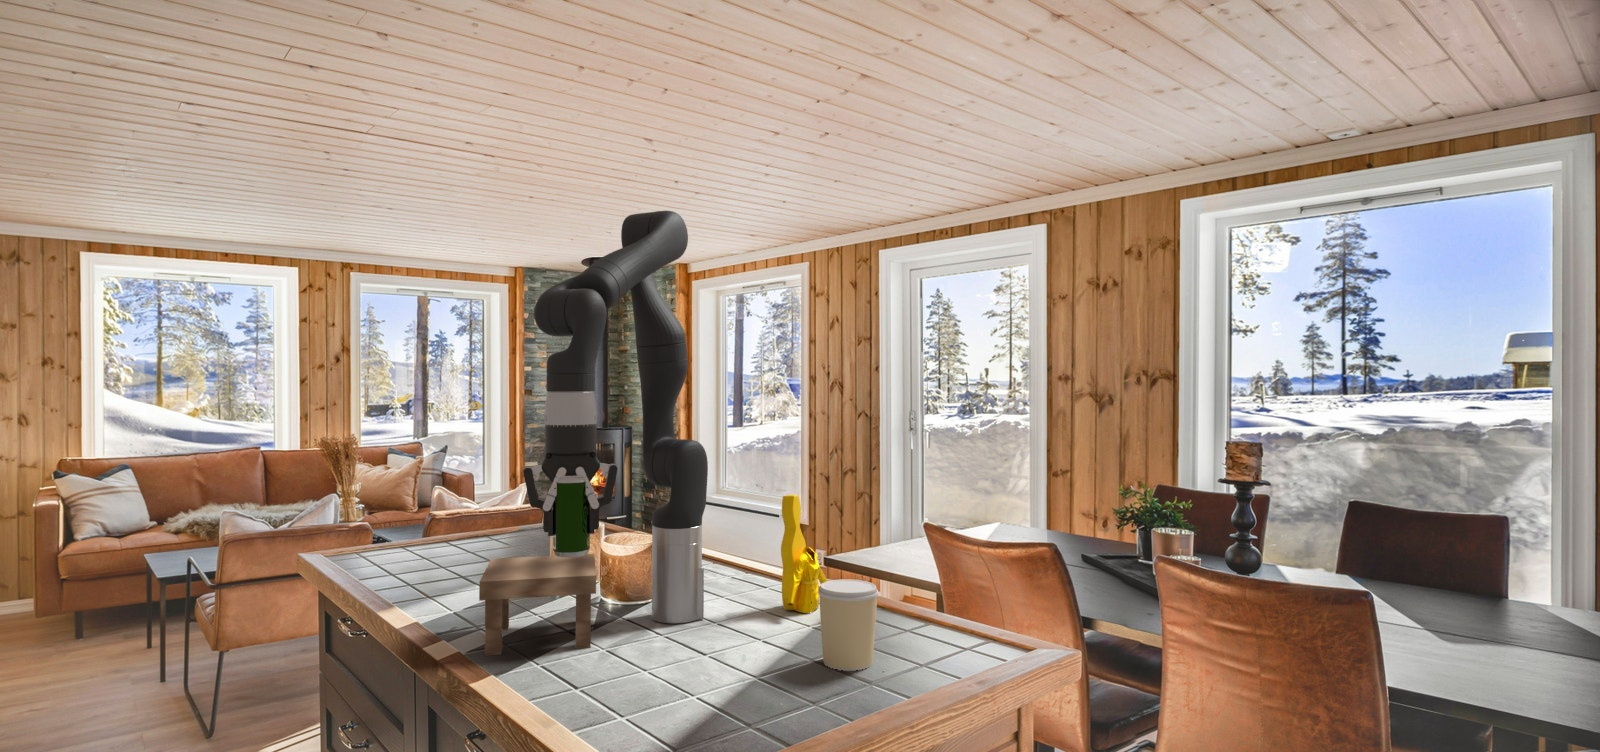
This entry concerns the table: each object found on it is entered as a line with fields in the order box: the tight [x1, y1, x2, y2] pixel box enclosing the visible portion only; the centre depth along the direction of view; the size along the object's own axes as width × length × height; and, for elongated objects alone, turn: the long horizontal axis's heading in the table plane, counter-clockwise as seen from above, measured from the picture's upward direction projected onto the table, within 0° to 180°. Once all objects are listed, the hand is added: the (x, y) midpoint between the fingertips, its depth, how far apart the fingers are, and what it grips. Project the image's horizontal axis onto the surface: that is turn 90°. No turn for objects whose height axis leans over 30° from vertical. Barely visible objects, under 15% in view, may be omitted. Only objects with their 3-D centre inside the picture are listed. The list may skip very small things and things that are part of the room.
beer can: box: [552, 475, 591, 557], centre depth 123 cm, size 5×5×12 cm
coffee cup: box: [818, 578, 879, 672], centre depth 128 cm, size 9×9×12 cm
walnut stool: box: [478, 553, 597, 656], centre depth 141 cm, size 18×18×12 cm
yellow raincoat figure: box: [780, 494, 828, 614], centre depth 159 cm, size 18×8×22 cm, turn 156°
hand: (571, 533), depth 123 cm, fingers closed on beer can, 5 cm apart
